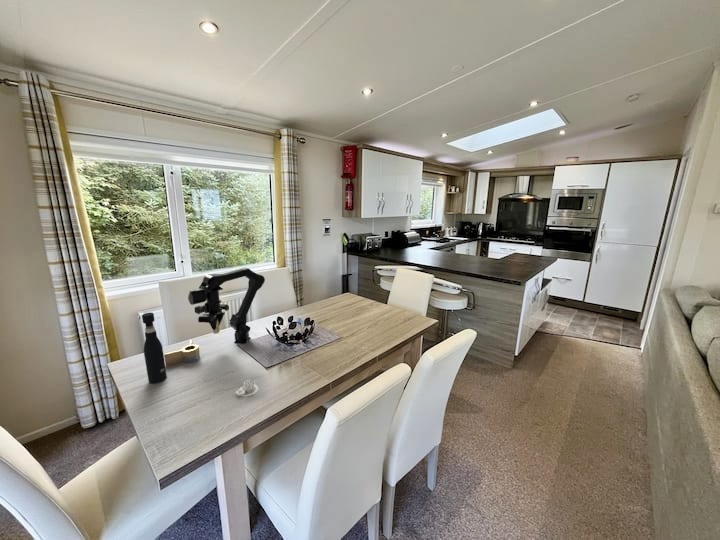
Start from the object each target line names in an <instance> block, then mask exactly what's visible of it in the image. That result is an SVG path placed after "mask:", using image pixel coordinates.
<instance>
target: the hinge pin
mask: <svg viewBox="0 0 720 540" xmlns="http://www.w3.org/2000/svg"><path fill="white" fill-rule="evenodd" d="M216 318H218V317H216ZM219 333H220V325H219V321H217V325H216V329H215V330H213V329H212V334H219Z"/></svg>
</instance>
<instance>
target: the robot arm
mask: <svg viewBox="0 0 720 540" xmlns="http://www.w3.org/2000/svg"><path fill="white" fill-rule="evenodd" d="M244 277H245V278H246V279H248V283H247V285H248V287H247V291H246V293H245V295H244V297H243V299H242V302H241V304H240V306H239V309H238V310H237V312H236V313H233V314H231V318H230V319H229V326H230V327H231V328H232V329H233V330H235V331H234V340H235V341H234V344H246V343H248V342H249V340H250V339H251V337H250V331H251V326H249V325H247V322H248V316H247V315H248V313H249V311H250V308H251V306H252V303H253V302H254V299H255V297H256V294H257V292H258V290H260V289H261V288H262V286H264V283H265V282H266V281H265V280H266V279H265V276H264V275H262V274H259V273H256V272H254V271H253V270H251V269H250V268H249V267H248V268H247V267H242V268H239V269H235V270H231V271H227V272H224V273H211V274H205V275H204V276H203V279H202V282H201V284H200V285H199V287H198V289H192V290H189V293H188V296H187V298H188V302H189V304H190V305H191V306H193V305H196V304H201V305H198V306H195V307H194V313H195V314H197V315H199V317H197V322H198V323H209V325H210V327H211V329H212V331H213V330H215V329H216V325H217V321H219V326H220V325H221V322H222V320H223V318H224V315H225V314H226V312H228V311H229V310H230V306H229V305H228V304H224V303H222V299H221V300H220V293H219V292H220V291H224V288H223V287H221V286H222V285H223V284H224V283H226V282H229V281H233V280H237V279H239V278H244ZM202 303H204V304H202ZM223 310H224V311H225V312H224V311H223ZM202 313H203V314H202ZM200 314H201V315H200ZM216 317H218V318H216Z"/></svg>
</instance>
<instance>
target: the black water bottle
mask: <svg viewBox="0 0 720 540" xmlns="http://www.w3.org/2000/svg"><path fill="white" fill-rule="evenodd" d="M141 318H142V324H145V329H144V337H145V341H144V345H143V355H144V361H145V367H146V373H147V379H148V380H147V381H148V383H149V384H151V385H153V384H159V383H161V382H164V381H166V379H167V378H168V377H167V369H166V364H165V357H164V350H163V349H164V348H163V345H162V342H161V340H160V339H159V338H158V336H157V330H156V328H155V326H154V322H155V321H156V320H155V313H154V312H146V313H143V314H141Z"/></svg>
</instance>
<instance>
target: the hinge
mask: <svg viewBox="0 0 720 540" xmlns="http://www.w3.org/2000/svg"><path fill="white" fill-rule="evenodd" d="M199 347H200V346H199V345H198V344H194V343H193V339H192V338H190V339H189V345H185V346H183V347H182V348H181V349H179V350H175V351H171V352H167V353H163V355H164V362H165V367H168V366H172V365H176V364H180V363H184V364H191V363H194V362H197V361H198V360H199V359H201V356H200V355H201V354H200V348H199Z"/></svg>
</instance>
